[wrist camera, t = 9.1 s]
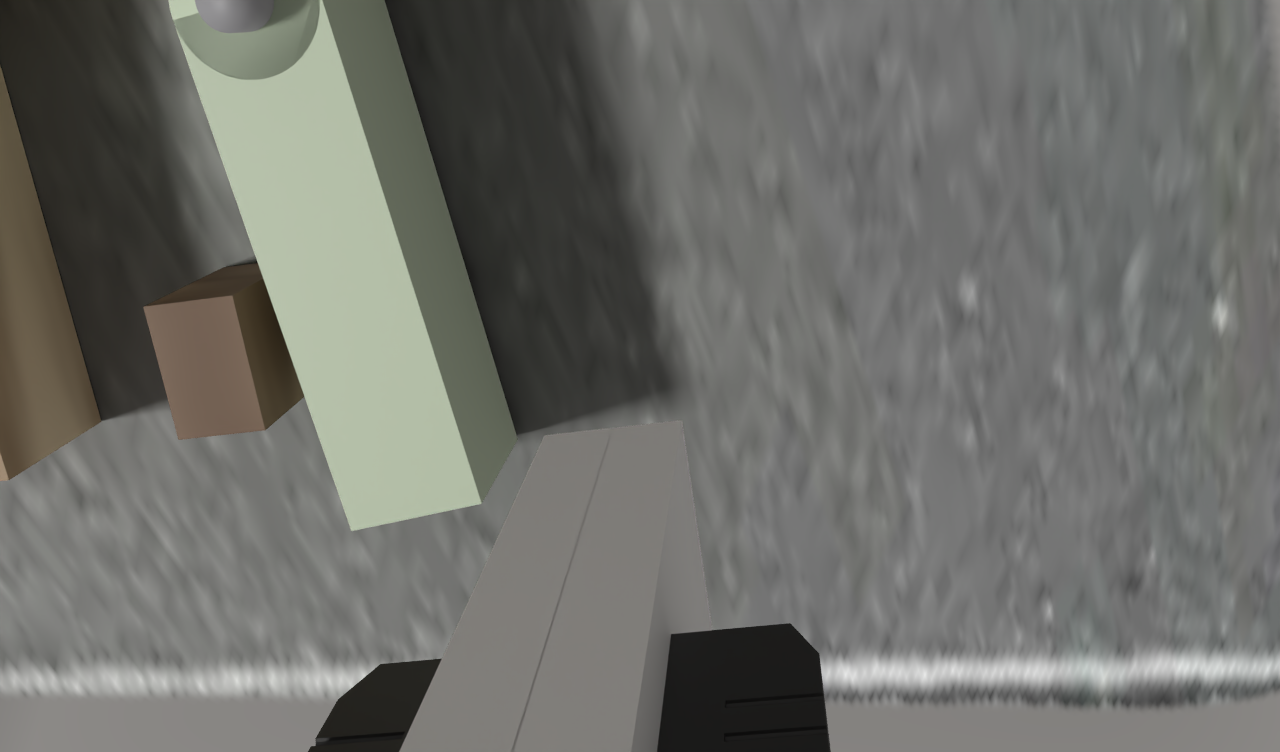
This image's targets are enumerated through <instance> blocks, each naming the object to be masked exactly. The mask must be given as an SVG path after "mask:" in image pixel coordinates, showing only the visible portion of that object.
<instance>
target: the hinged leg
mask: <svg viewBox="0 0 1280 752" xmlns="http://www.w3.org/2000/svg"><path fill="white" fill-rule="evenodd" d="M169 6H170V11H171V15H172V18H173V22H174V24H175V27H176V30H177V33H178V36H179V39H180V42H181V44H182V47H183V50H184V53H185V56H186V59H187V62H188V64H189V67H190V70H191V73H192V76H193V79H194V82H195V84H196V87H197V90H198V93H199V96H200V99H201V102H202V105H203V107H204V110H205V113H206V116H207V119H208V122H209V125H210V127H211V130H212V133H213V136H214V139H215V142H216V145H217V147H218V150H219V153H220V156H221V159H222V162H223V165H224V167H225V170H226V173H227V176H228V179H229V182H230V185H231V187H232V190H233V193H234V196H235V199H236V202H237V205H238V208H239V210H240V213H241V216H242V219H243V222H244V225H245V228H246V230H247V233H248V236H249V239H250V242H251V245H252V248H253V250H254V253H255V256H256V259H257V262H258V265H259V268H260V270H261V273H262V276H263V279H264V282H265V285H266V288H267V291H268V293H269V296H270V299H271V302H272V305H273V308H274V311H275V313H276V316H277V319H278V322H279V325H280V328H281V331H282V333H283V336H284V339H285V342H286V345H287V348H288V351H289V353H290V356H291V359H292V362H293V365H294V368H295V371H296V373H297V376H298V379H299V382H300V385H301V388H302V391H303V394H304V396H305V399H306V402H307V405H308V408H309V411H310V414H311V416H312V419H313V422H314V425H315V428H316V431H317V434H318V436H319V439H320V442H321V445H322V448H323V451H324V454H325V456H326V459H327V462H328V465H329V468H330V471H331V474H332V477H333V479H334V482H335V485H336V488H337V491H338V494H339V497H340V499H341V502H342V505H343V508H344V511H345V514H346V517H347V519H348V522H349V525H350V528H351V531H354V530H359V529H364V528H368V527H373V526H378V525H383V524H387V523H392V522H397V521H402V520H406V519H411V518H416V517H421V516H425V515H430V514H435V513H440V512H445V511H449V510H454V509H459V508H464V507H468V506H473V505H478V504H482V502H483V500H484V499H485V497H486V495H487V493H488V492H489V490H490V488H491V486H492V484H493V483H494V481H495V479H496V477H497V476H498V474H499V472H500V470H501V469H502V467H503V465H504V463H505V461H506V460H507V458H508V456H509V454H510V453H511V451H512V449H513V447H514V445H515V444H516V442H517V440H518V438H517V435H516V432H515V429H514V425H513V422H512V419H511V415H510V412H509V409H508V406H507V402H506V399H505V396H504V392H503V389H502V386H501V382H500V379H499V376H498V373H497V369H496V366H495V363H494V359H493V356H492V353H491V350H490V346H489V343H488V340H487V336H486V333H485V330H484V326H483V323H482V320H481V317H480V313H479V310H478V307H477V303H476V300H475V297H474V293H473V290H472V287H471V284H470V280H469V277H468V274H467V270H466V267H465V264H464V261H463V257H462V254H461V251H460V247H459V244H458V241H457V237H456V234H455V231H454V228H453V224H452V221H451V218H450V214H449V211H448V208H447V205H446V201H445V198H444V195H443V191H442V188H441V185H440V181H439V178H438V175H437V172H436V168H435V165H434V162H433V158H432V155H431V152H430V148H429V145H428V142H427V139H426V135H425V132H424V129H423V125H422V122H421V119H420V116H419V112H418V109H417V106H416V102H415V99H414V96H413V92H412V89H411V86H410V83H409V79H408V76H407V73H406V69H405V66H404V63H403V60H402V56H401V53H400V50H399V46H398V43H397V40H396V36H395V33H394V30H393V27H392V23H391V20H390V17H389V13H388V10H387V7H386V3H385V0H169Z"/></svg>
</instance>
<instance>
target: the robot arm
mask: <svg viewBox="0 0 1280 752" xmlns="http://www.w3.org/2000/svg"><path fill="white" fill-rule="evenodd" d="M308 752H831V751H830V743H829V734H828V725H827V717H826V708H825V700H824V691H823V683H822V674H821V666H820V657H819V653H818V652H817V651H816V650H815V649H814V648H813V647H812V646H811V645H810V644H809V643H808V642H807V641H806V639H805V638H804V637H803V636H802V635H801V634H800V633H799V632H798V631H797V630H796V629H795V628H794V627H793V626H792V625H791V624H778V625H767V626H756V627H745V628H733V629H722V630H712V624H711V617H710V610H709V603H708V596H707V589H706V582H705V575H704V569H703V562H702V555H701V548H700V541H699V534H698V527H697V520H696V513H695V506H694V499H693V493H692V486H691V479H690V472H689V465H688V458H687V451H686V444H685V437H684V430H683V423H682V420H678V421H669V422H660V423H651V424H642V425H633V426H624V427H615V428H606V429H597V430H588V431H579V432H570V433H561V434H552V435H544V437H543V439H542V441H541V444H540V446H539V448H538V450H537V452H536V455H535V457H534V459H533V461H532V463H531V465H530V468H529V470H528V472H527V474H526V476H525V479H524V481H523V483H522V485H521V487H520V489H519V492H518V494H517V496H516V498H515V500H514V503H513V505H512V507H511V509H510V511H509V513H508V516H507V518H506V520H505V522H504V524H503V527H502V529H501V531H500V533H499V535H498V537H497V540H496V542H495V544H494V546H493V548H492V551H491V553H490V555H489V557H488V559H487V561H486V564H485V566H484V568H483V570H482V572H481V575H480V577H479V579H478V581H477V583H476V585H475V588H474V590H473V592H472V594H471V596H470V599H469V601H468V603H467V605H466V607H465V609H464V612H463V614H462V616H461V618H460V620H459V622H458V625H457V627H456V629H455V631H454V633H453V636H452V638H451V640H450V642H449V644H448V646H447V649H446V651H445V653H444V655H443V657H442V659H434V660H423V661H411V662H400V663H389V664H380V665H379V666H378V667H377V668H375V669H374V670H373V671H372V672H371V673H369V674H368V675H367V676H366V677H365V678H363V679H362V680H361V681H360V682H359V683H357V684H356V685H355V686H354V687H353V688H351V689H350V690H349V691H348V692H347V693H345V694H344V695H343V696H342V697H341V698H339V699H338V701H337V702H336V704H335V706H334V708H333V709H332V711H331V713H330V715H329V716H328V718H327V720H326V722H325V723H324V725H323V727H322V728H321V730H320V732H319V734H318V735H317V737H316V746H312V747H310V749H309V751H308Z"/></svg>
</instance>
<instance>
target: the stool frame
mask: <svg viewBox="0 0 1280 752" xmlns="http://www.w3.org/2000/svg"><path fill="white" fill-rule="evenodd" d="M143 308H144V312H145V315H146V319H147V323H148V327H149V330H150V334H151V338H152V342H153V345H154V349H155V353H156V357H157V360H158V364H159V368H160V372H161V375H162V379H163V383H164V387H165V390H166V394H167V398H168V402H169V406H170V409H171V413H172V417H173V421H174V424H175V428H176V432H177V436H178V439H179V440H181V439H190V438H199V437H208V436H217V435H226V434H235V433H244V432H253V431H262V430H266V429H267V428H268V427H269V426H271V425H272V424H273V423H274V422H275V421H276V420H278V419H279V418H280V417H281V416H282V415H283V414H285V413H286V412H287V411H288V410H289V409H290V408H292V407H293V406H294V405H295V404H296V403H297V402H299V401H300V400H301V399H302V398H303V397H304V394H303V391H302V388H301V385H300V382H299V379H298V376H297V373H296V371H295V368H294V365H293V362H292V359H291V356H290V353H289V351H288V348H287V345H286V342H285V339H284V336H283V333H282V331H281V328H280V325H279V322H278V319H277V316H276V313H275V311H274V308H273V305H272V302H271V299H270V296H269V293H268V291H267V288H266V285H265V282H264V279H263V276H262V273H261V270H260V268H259V265H258V263H254V264H246V265H239V266H231V267H223V268H221V269H219V270H217V271H215V272H213V273H211V274H209V275H207V276H205V277H203V278H201V279H199V280H197V281H195V282H193V283H191V284H189V285H187V286H185V287H183V288H180V289H178V290H176V291H174V292H172V293H170V294H168V295H166V296H164V297H162V298H160V299H158V300H156V301H154V302H152V303H150V304H148V305H146V306H144V307H143ZM100 422H101V418H100V415H99V411H98V408H97V404H96V401H95V397H94V394H93V390H92V387H91V383H90V380H89V376H88V373H87V369H86V365H85V362H84V358H83V355H82V351H81V348H80V344H79V341H78V337H77V334H76V330H75V327H74V323H73V320H72V316H71V313H70V309H69V306H68V302H67V299H66V295H65V291H64V288H63V284H62V281H61V277H60V274H59V270H58V267H57V263H56V260H55V256H54V253H53V249H52V246H51V242H50V239H49V235H48V232H47V228H46V225H45V221H44V217H43V214H42V210H41V207H40V203H39V200H38V196H37V193H36V189H35V186H34V182H33V179H32V175H31V172H30V168H29V165H28V161H27V158H26V154H25V151H24V147H23V143H22V140H21V136H20V133H19V129H18V126H17V122H16V119H15V115H14V112H13V108H12V105H11V101H10V98H9V94H8V91H7V87H6V84H5V80H4V77H3V73H2V69H1V66H0V481H5V480H10V479H11V478H13V477H15V476H16V475H18V474H19V473H21V472H22V471H24V470H26V469H27V468H29V467H30V466H32V465H34V464H35V463H37V462H38V461H40V460H41V459H43V458H45V457H46V456H48V455H49V454H51V453H52V452H54V451H56V450H57V449H59V448H60V447H62V446H64V445H65V444H67V443H68V442H70V441H71V440H73V439H75V438H76V437H78V436H79V435H81V434H83V433H84V432H86V431H87V430H89V429H90V428H92V427H94V426H95V425H97V424H98V423H100Z"/></svg>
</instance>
